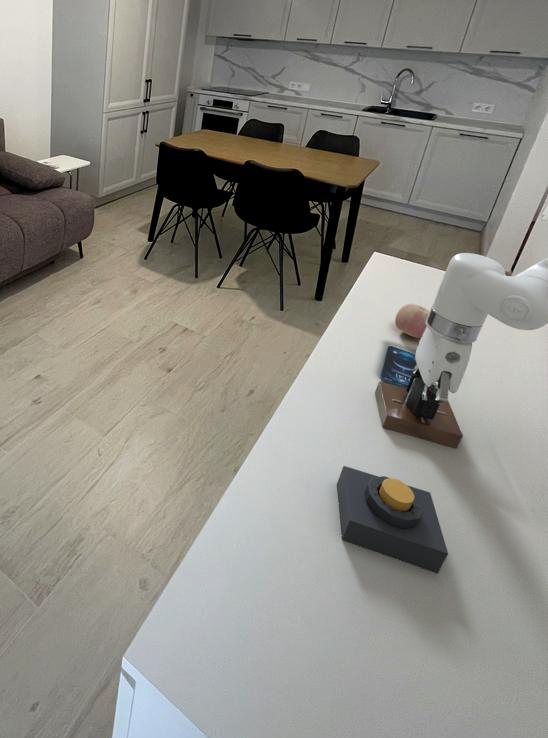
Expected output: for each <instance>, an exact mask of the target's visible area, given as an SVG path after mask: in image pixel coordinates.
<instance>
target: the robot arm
mask: <svg viewBox="0 0 548 738" xmlns="http://www.w3.org/2000/svg"><path fill="white" fill-rule="evenodd" d="M488 315H489V316H490V317H492V318H494V319H495V320H497V321H498V322H500V323H502V324H503V325H506V326H507V327H510V328H512V329H516V330H518V331H519V330H520V331H533V330H534V331H535V330H538V329H540V328H543V327H545V326H547V325H548V256H547V257H545V258H544V259H542V260H541V261H538V262H537V263H535V264H533V265H532V266H530V267H528V268H526V269H524V270H523V271H521V272H519V273H517V274H516V275H513V276H512V275H506V270H505V267H504V266H503V265H502V264H501V263H500V262H499V261H496V260H494V259H492V258H490V257H487V256H485V255H481V254H477V253H473V252H459V253H457V254H455V255H453V256H452V257H451V259H450V260H449V262H448V265H447V267H446V269H445V271H444V274H443V277H442V280H441V282H440V285H439V287H438V289H437V292H436V295H435V298H434V300H433V303H432V305H431V307H430V309H429V315H428V317H427V320H426V326H427V327H426V329H425V331H424V333H423V335H422V337H420V340H419V342H418V344H417V346H416V347H417V348H416V351H415V353H414V354H415V359H416V363H417V365H416V366H415V367H414V369H413V374H416V375H413V374H412V376H411V379H410V381H409V383H408V386H407V388H406V391H407V393H409V390H410V388H411V385H412V383H413V380H414V379H415V378H422V379H423V381H424V383H425V387H424V391H423V395H422V396H419V398H418V401H417V403H416V405H415V408H414V410H413V413H414V415H416V416H420V417H424V418H427V419H433V418H434V416H435V414H436V412H437V410H438V407H439V405H441V404H442V402H447V400H448V401H449V393H452V394H456V393H458V390H459V388H460V386H461V383H462V382H463V381H462V380H463V379H464V376H465V373H466V370H467V367H468V364H469V361H470V357H471V354H472V349H473V343H475V342H477V340H478V337H479V335H480V333H481V330H483V329H482V328H483V326H484V324H485V322H486V321H487V320H486V319H487V317H488ZM433 383H436V384H433ZM430 388H434V389H437V393H430V394H429V392H430Z"/></svg>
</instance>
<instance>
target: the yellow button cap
mask: <svg viewBox="0 0 548 738" xmlns="http://www.w3.org/2000/svg"><path fill="white" fill-rule="evenodd" d="M407 485H408V484H406V483H404V482H403V481H401V480H399V479H397V478H392V477H388V479H385V480H384V481H383V483H382V485H381V488H380V490H379V494H380V497H381V499H382V500H383V501H384V503H385V504H387V505H388V506H390V507H391V508H393V509H395V510H398V511H408V510H409V509H410V507H411V505H412V503H413V501H414V494H413V492H412V490H411V489H410V488H409V487H408V486H409V485H408V486H407Z"/></svg>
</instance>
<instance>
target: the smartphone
mask: <svg viewBox="0 0 548 738" xmlns="http://www.w3.org/2000/svg"><path fill="white" fill-rule="evenodd" d="M415 354H416V353H413V352H410V351H408V350H405V349H401V348H400V347H396V346H393V345H388V346H387V347H386V351H385V356H384V360H383V363H382V367H381V371H380V378H379V379H381V380H382V382H384V383H387V384H391V385H395V386H399V387H403V388H407V386H408V383H409V381H410V379H411V376H412V374H413V369H414V367H415V366H416V365H417V363H416V359H415ZM413 375H416V374H413Z"/></svg>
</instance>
